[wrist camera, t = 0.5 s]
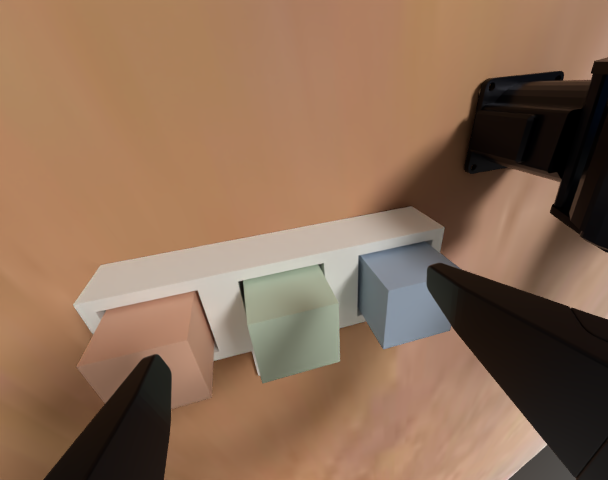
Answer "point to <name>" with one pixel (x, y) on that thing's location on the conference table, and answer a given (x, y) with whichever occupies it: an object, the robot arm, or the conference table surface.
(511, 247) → the conference table surface
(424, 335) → the slate blue key
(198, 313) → the terracotta key
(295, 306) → the sage green key
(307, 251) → the key console
